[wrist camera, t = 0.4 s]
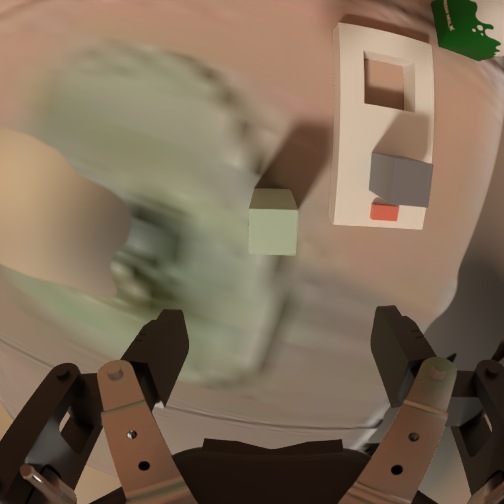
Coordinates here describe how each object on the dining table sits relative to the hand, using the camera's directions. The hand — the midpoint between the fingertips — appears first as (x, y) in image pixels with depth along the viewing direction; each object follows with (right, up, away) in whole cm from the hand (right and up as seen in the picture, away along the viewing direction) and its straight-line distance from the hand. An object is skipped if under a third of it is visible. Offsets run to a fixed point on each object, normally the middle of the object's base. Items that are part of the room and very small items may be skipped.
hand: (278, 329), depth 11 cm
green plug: (+1, +8, +21) cm, 23 cm away
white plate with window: (+13, +17, +16) cm, 27 cm away
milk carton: (+25, +32, +10) cm, 42 cm away
